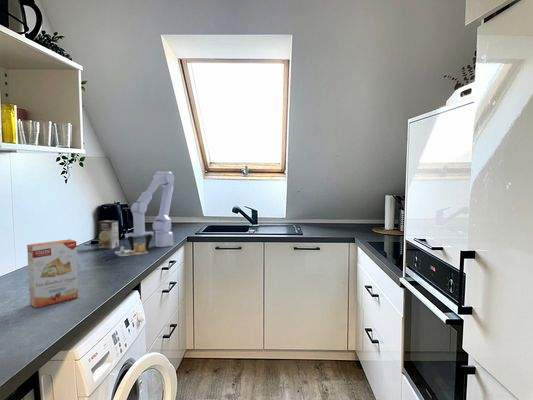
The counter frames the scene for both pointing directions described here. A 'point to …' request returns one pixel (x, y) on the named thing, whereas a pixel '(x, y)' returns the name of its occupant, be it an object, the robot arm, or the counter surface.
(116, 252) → the maple board
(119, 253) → the hub pad
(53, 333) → the counter surface
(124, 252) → the steel hub
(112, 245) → the coffee box
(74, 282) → the cracker box
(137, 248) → the bronze ring
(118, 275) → the counter surface
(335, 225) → the counter surface
